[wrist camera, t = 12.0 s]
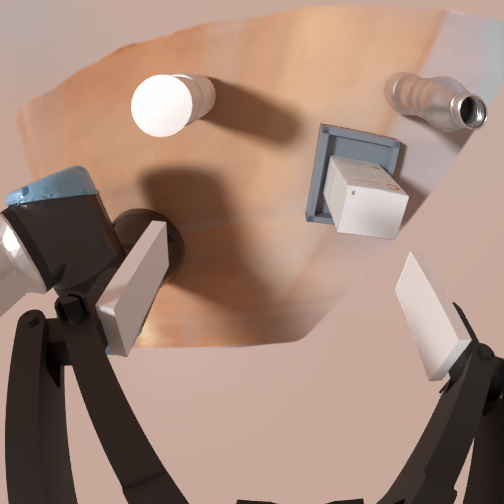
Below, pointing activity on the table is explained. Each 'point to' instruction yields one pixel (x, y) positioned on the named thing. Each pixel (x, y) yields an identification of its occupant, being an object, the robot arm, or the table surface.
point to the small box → (363, 198)
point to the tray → (347, 146)
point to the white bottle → (171, 102)
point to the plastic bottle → (436, 101)
